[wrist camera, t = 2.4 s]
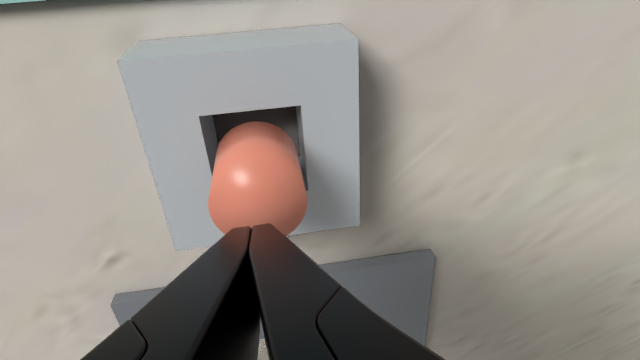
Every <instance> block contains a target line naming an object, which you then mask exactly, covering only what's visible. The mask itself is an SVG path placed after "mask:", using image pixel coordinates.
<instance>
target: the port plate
mask: <svg viewBox="0 0 640 360" xmlns="http://www.w3.org/2000/svg"><path fill="white" fill-rule="evenodd" d="M434 263H435V257H434V255H433V253H432V252H431V250H430V249H427V250H420V251H413V252H406V253H399V254H392V255H386V256H379V257H372V258H365V259H358V260H351V261H344V262H337V263H330V264H323V265H319V266H320V267H321V268H322V269H323V270H324V271H325V272H327V273H328V274H329V275H330V276H331V277H332V278H333V279H335V280H336V281H337V282H338V283H339V284H340V285H341V286H342V287H344V288H346V289H347V290H348V291H349V292H350V293H351V294H353V295H354V296H355V297H356V298H357V299H359V300H360V301H361V302H362V303H364V304H365V305H366V306H367V307H369V308H370V309H371V310H372V311H374V312H375V313H376V314H378V315H379V316H381V317H382V318H384V319H385V320H386V321H388V322H389V323H391V324H392V325H394V326H395V327H396V328H398V329H399V330H401V331H402V332H404V333H406V334H407V335H409V336H410V337H412V338H413V339H415V340H416V341H418V342H419V343H421V344H422V345H424V346H425V341H426V332H427V324H428V315H429V306H430V298H431V289H432V280H433V272H434ZM164 288H165V287H164ZM164 288H157V289H150V290H143V291H136V292H130V293H123V294H116V295H114V298H113V301H112V303H111V307H112V309H113V312H114V314H115V316H116V318H117V320H118V322H119V325H120V326H121V325H122V324H123V323H124V322H125V321H127V320H130V319H131V317H132V316H133V315H134V314H136V313H137V312H138V311H139V310H140V309H141V308H142V307H144V306H145V305H146V304H147V303H148V302H149V301H150V300H151V299H153V298H154V297H155V296H156V295H157V294H158V293H159V292H161V291H162V290H163V289H164ZM260 318H261V317H260ZM262 338H264V333H263V328H262V323H261V322H260V336H259V339H262Z"/></svg>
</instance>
